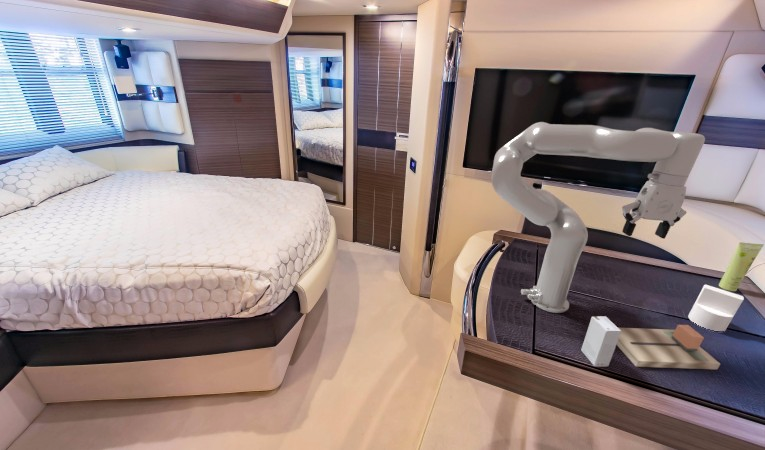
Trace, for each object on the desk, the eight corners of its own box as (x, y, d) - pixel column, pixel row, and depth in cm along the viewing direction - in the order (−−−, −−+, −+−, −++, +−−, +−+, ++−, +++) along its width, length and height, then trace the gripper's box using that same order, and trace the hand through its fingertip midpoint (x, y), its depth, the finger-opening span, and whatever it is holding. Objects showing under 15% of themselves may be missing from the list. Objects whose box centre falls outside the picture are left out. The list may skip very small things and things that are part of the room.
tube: (733, 293, 120) (759, 247, 112) (715, 286, 124) (739, 241, 116) (738, 289, 123) (764, 244, 115) (720, 283, 127) (744, 238, 119)
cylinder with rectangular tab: (686, 321, 104) (702, 291, 99) (689, 309, 110) (704, 280, 105) (725, 336, 98) (744, 304, 93) (725, 323, 104) (743, 292, 99)
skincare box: (609, 366, 86) (624, 331, 81) (593, 367, 85) (607, 331, 81) (593, 349, 91) (607, 315, 87) (578, 349, 91) (591, 315, 86)
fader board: (635, 366, 86) (638, 360, 85) (605, 332, 98) (607, 327, 97) (717, 369, 86) (720, 363, 85) (677, 335, 98) (679, 329, 97)
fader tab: (685, 350, 89) (693, 337, 87) (671, 337, 93) (677, 324, 92) (696, 351, 89) (704, 337, 87) (681, 338, 93) (688, 325, 92)
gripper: (645, 180, 84) (621, 238, 91) (712, 185, 84) (682, 243, 91) (626, 173, 91) (605, 227, 98) (688, 177, 91) (662, 232, 98)
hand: (643, 235), depth 94 cm, fingers open, 9 cm apart
